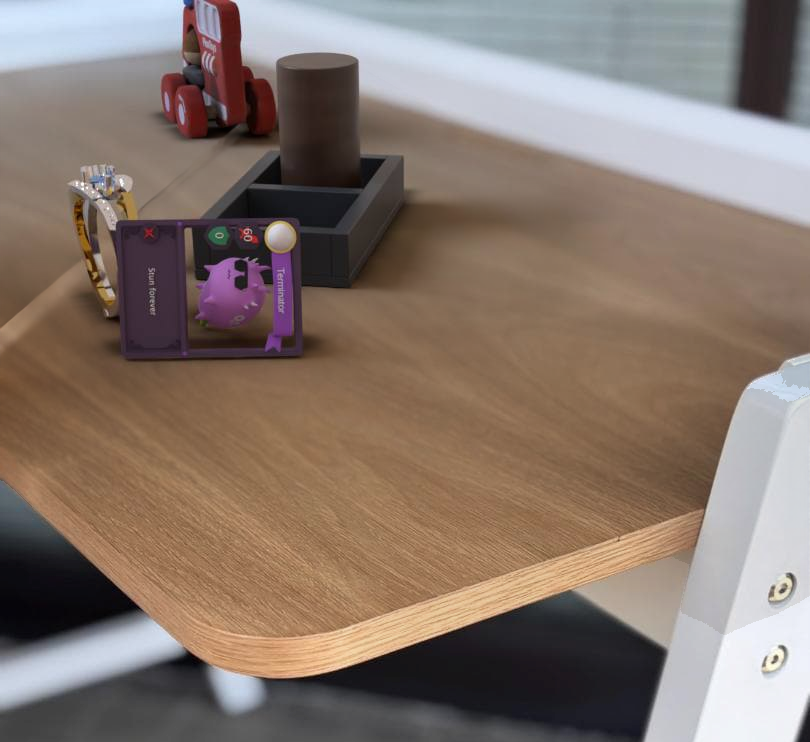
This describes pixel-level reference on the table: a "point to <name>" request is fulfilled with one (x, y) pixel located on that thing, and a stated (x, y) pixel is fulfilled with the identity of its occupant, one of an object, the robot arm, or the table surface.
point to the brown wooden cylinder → (319, 120)
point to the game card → (204, 285)
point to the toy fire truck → (215, 75)
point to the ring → (96, 196)
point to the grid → (311, 219)
